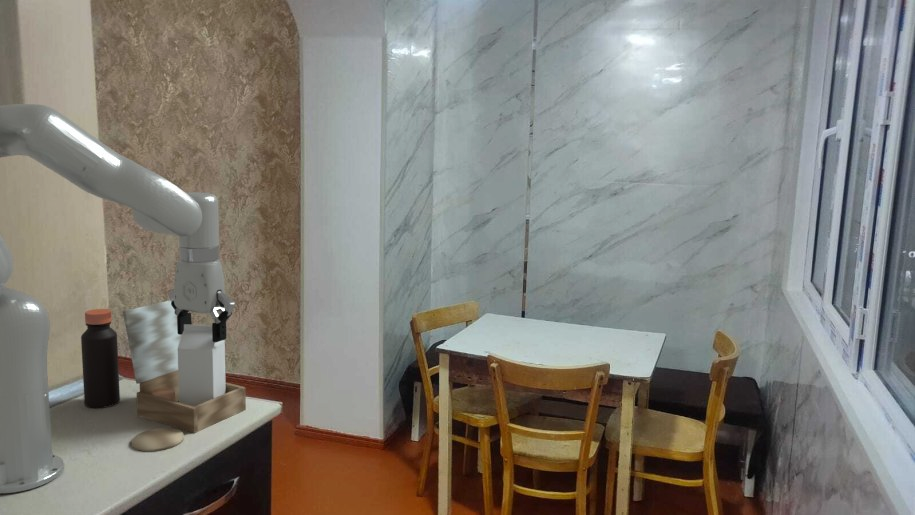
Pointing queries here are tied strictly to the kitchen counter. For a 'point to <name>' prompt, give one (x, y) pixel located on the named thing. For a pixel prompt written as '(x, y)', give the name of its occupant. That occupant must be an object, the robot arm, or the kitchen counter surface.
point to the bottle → (100, 360)
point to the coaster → (157, 439)
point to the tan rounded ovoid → (165, 393)
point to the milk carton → (200, 365)
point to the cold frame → (170, 372)
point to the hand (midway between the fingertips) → (201, 336)
